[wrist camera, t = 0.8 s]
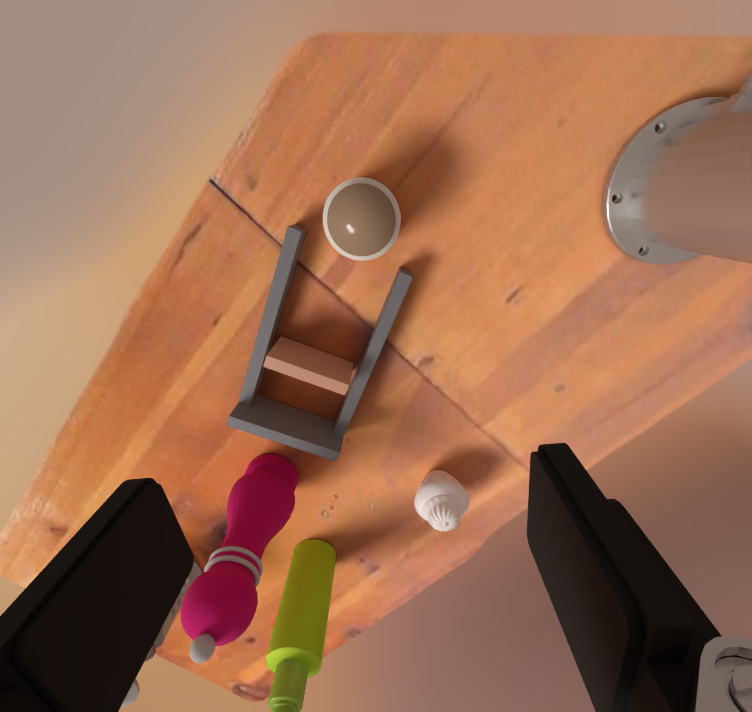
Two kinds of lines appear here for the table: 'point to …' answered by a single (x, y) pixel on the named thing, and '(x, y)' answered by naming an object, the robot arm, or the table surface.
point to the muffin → (441, 500)
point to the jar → (361, 218)
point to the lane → (252, 408)
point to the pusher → (310, 365)
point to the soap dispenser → (301, 624)
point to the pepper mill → (239, 556)
